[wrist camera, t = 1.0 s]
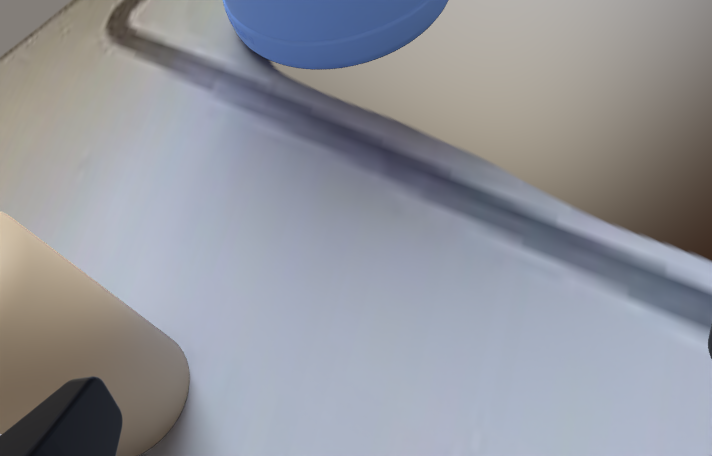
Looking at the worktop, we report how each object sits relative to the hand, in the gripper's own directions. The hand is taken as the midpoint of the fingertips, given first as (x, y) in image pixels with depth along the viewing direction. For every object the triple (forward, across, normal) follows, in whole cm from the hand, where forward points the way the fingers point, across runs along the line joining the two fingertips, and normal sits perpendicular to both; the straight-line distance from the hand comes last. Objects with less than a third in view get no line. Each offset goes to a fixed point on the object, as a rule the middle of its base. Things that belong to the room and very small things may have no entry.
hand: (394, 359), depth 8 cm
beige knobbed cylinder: (+11, +14, +12) cm, 21 cm away
